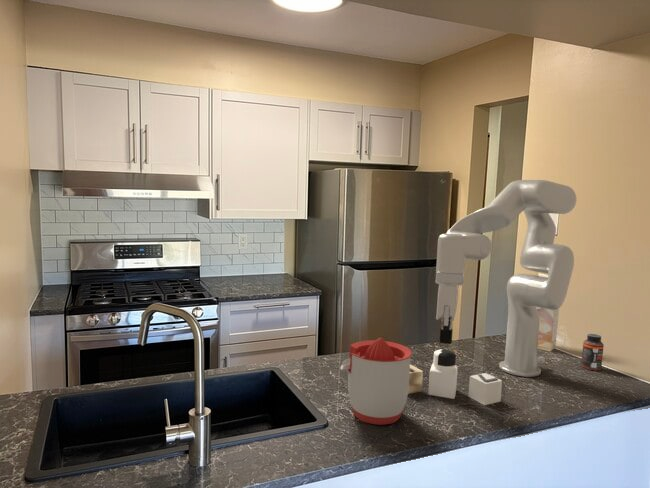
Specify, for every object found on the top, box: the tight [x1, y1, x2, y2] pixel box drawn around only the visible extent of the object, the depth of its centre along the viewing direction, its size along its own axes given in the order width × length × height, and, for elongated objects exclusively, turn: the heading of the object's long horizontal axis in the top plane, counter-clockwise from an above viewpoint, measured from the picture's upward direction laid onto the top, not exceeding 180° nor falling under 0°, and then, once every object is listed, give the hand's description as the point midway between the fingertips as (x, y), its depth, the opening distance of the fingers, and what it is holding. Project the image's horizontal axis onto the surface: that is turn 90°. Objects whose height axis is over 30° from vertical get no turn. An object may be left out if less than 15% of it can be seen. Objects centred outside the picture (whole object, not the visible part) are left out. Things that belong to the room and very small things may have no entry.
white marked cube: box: [468, 372, 503, 406], centre depth 131 cm, size 6×6×6 cm
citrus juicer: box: [340, 337, 413, 426], centre depth 118 cm, size 16×17×20 cm
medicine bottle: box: [427, 348, 459, 400], centre depth 134 cm, size 7×7×12 cm
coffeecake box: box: [535, 306, 560, 353], centre depth 181 cm, size 15×7×20 cm, turn 50°
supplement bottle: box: [581, 333, 605, 372], centre depth 159 cm, size 6×6×11 cm
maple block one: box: [408, 363, 424, 395], centre depth 136 cm, size 6×6×6 cm
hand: (445, 342), depth 133 cm, fingers closed
